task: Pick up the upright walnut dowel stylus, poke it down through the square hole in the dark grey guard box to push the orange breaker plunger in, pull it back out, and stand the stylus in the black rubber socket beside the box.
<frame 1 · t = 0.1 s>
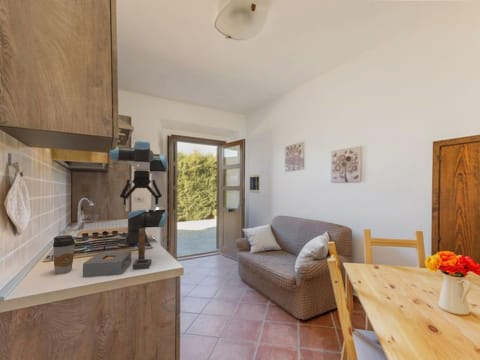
hand: (141, 211, 115), 28 cm above the kitchen counter, fingers open, 13 cm apart
coffee cup: (63, 272, 104), on the kitchen counter
socket: (142, 266, 111), on the kitchen counter
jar: (62, 258, 124), on the kitchen counter
stylus: (141, 259, 123), on the kitchen counter
plunger: (109, 261, 107), point 4 cm above the kitchen counter, slide at 0.0 cm
guard box: (109, 269, 107), on the kitchen counter
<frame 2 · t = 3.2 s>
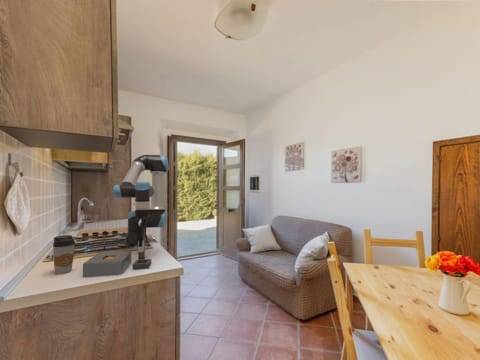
hand: (141, 251, 123), 5 cm above the kitchen counter, fingers closed on stylus, 3 cm apart
stylus: (141, 259, 123), on the kitchen counter, touching gripper
everything else where it was.
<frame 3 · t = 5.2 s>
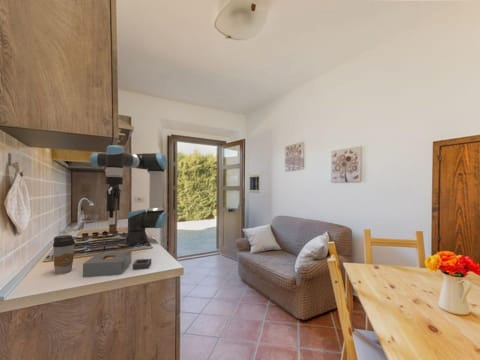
hand: (112, 223, 109), 22 cm above the kitchen counter, fingers closed on stylus, 3 cm apart
stylus: (112, 232, 109), point 18 cm above the kitchen counter, touching gripper
everything else where it was.
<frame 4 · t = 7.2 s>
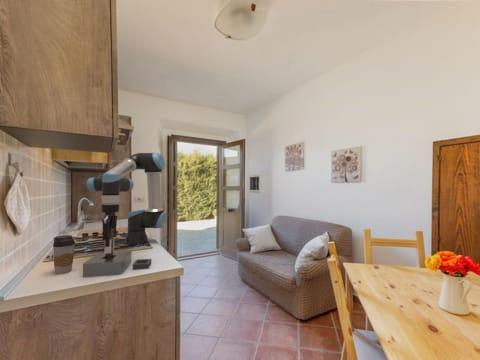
hand: (109, 251, 107), 9 cm above the kitchen counter, fingers closed on stylus, 3 cm apart
stylus: (108, 263, 107), point 3 cm above the kitchen counter, touching gripper, plunger
plunger: (109, 266, 107), point 1 cm above the kitchen counter, slide at 2.5 cm, touching stylus
everything else where it was.
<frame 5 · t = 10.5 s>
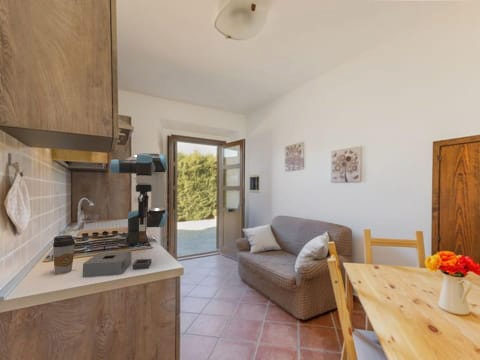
hand: (142, 230, 112), 18 cm above the kitchen counter, fingers closed on stylus, 3 cm apart
stylus: (142, 240, 112), point 13 cm above the kitchen counter, touching gripper
plunger: (109, 265, 107), point 2 cm above the kitchen counter, slide at 2.3 cm
everything else where it was.
when the fingers open (6 cm above the kitchen counter, at t = 12.8 s): stylus stays where it is, resting in socket.
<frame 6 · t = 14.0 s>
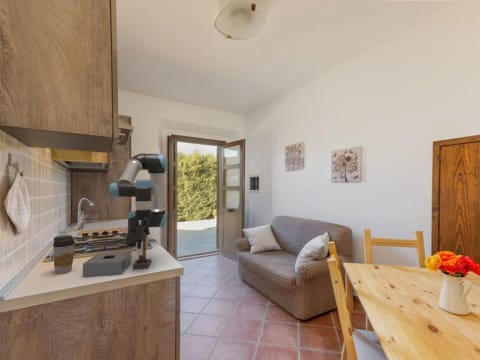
hand: (142, 251, 112), 8 cm above the kitchen counter, fingers open, 13 cm apart
stylus: (142, 266, 111), resting in socket
everything else where it was.
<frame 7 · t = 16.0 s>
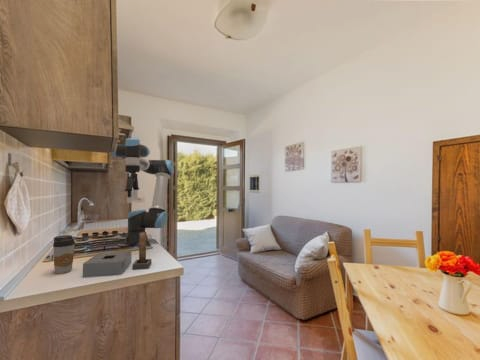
hand: (132, 201, 127), 32 cm above the kitchen counter, fingers open, 13 cm apart
nothing on the kitchen counter moved.
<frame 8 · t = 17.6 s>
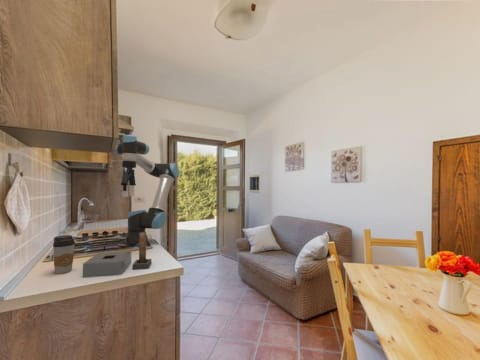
hand: (128, 196, 131), 35 cm above the kitchen counter, fingers open, 13 cm apart
nothing on the kitchen counter moved.
at the end: plunger slide at 2.3 cm; stylus 0.0 cm off-centre on the socket, point 0.0 cm above the socket's base; stylus tilted 0° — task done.
